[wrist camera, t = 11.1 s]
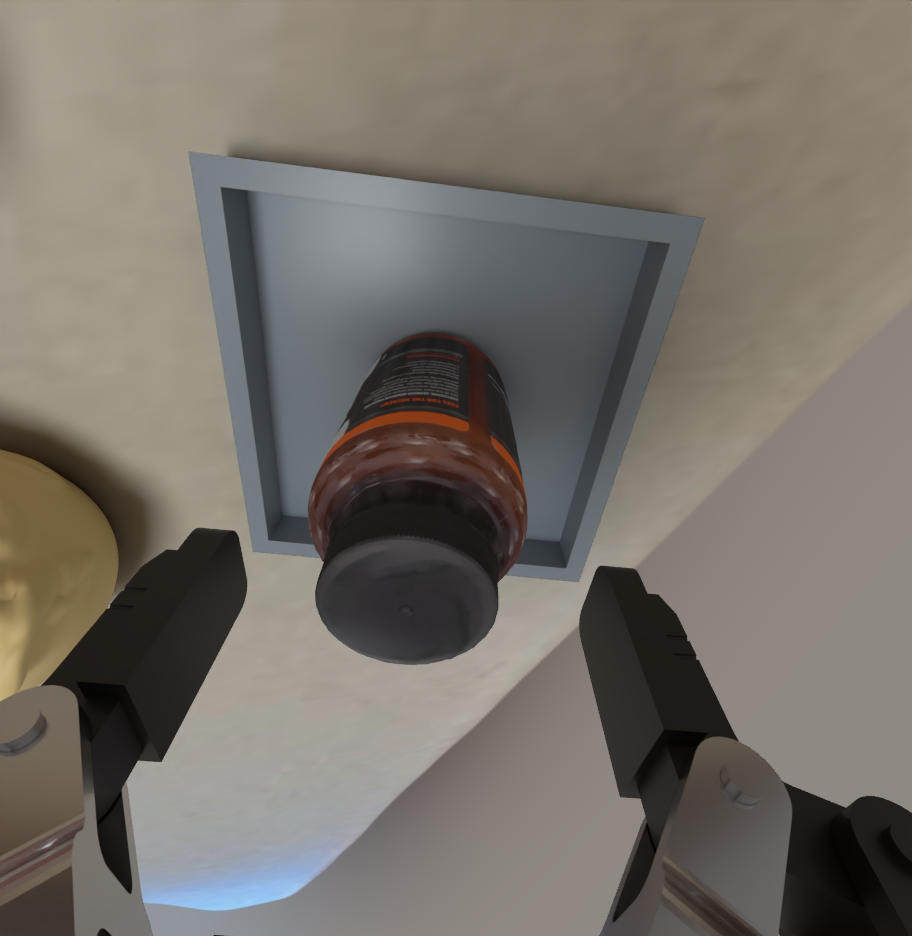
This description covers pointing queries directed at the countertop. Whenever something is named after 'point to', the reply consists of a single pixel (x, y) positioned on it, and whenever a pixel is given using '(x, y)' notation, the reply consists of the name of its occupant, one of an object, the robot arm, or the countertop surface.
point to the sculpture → (48, 570)
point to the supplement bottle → (419, 505)
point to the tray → (433, 326)
